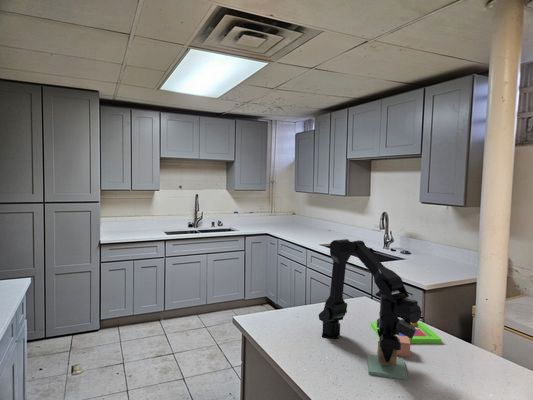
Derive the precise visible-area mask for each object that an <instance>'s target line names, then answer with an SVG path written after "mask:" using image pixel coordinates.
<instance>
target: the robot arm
mask: <svg viewBox="0 0 533 400" xmlns="http://www.w3.org/2000/svg"><path fill="white" fill-rule="evenodd" d="M352 253H354V255H355V256H356V257H357V259H359V261H360V262H361V263H362V264H363V265H364V266H365V268H366V269H367V271H368V272H370V273H371V276H373V280H374V284H375V286H376V287H377V289H378V291H377V292H376V293H375V294H374V295H375V296H376V297H378V298H380V303H379V304H380V305H379V312H378V316H379V318H377V319H376V323H377V328H379V329H377V331H378V335H379V336H378V335H377V336H378V341H379V345H380V347H381V350H382V353H383V355H384V358H385V361H386V362H389V361H390V358H391V355H392V352H393V350H401V343H400V339H399V338H398V337H397V336H395V335H399V333H401V334H403V335H405V336H407V337H408V338H410V339H412V338H413V336H414V334H415V332H416V329H417V328H416V326H414V325H413V324H411V323H417V322H419V321H420V319H421V317H422V309H421V307H420V305H418V304H419V302H418V300H415V299H410V295H409V293H408V291H407V289H406V287H405V285H404V283H403V280H402V277H401V276H399V274H397V273H396V272H395V271H393V270H391V269H390V268H388V267H386V266H385V265H384V264H383V263H382V262H381V261H380V260H379V259H378V258H377V257H376V256H375V254H374V253H373V252H372V250H370V249H369V247H368V246H366V243H365V242H364V241H363V240H360V239H359V240H351V241H350V239H347V238H345V239H335V240H332V241H331V242H330V244H329V255H330V257H331V259H332V270H331V271H332V272H331V281H330V283H331V284H330V292H329V297H327V299H326V301H325V303H324V307H323V310H322V311H320V313H318V320H319V321H321V322H322V333H321V337H322V338H328V339H337V340H338V339H339V337H340V335H341V323H340V321H343V320H344V317H345V316H346V314H347V313H348V309H347V307H348V302H345V299H344V288H345V286H344V285H345V280H346V279H345V278H346V268H347V262H348V261H349V259H350V258H351V255H352Z"/></svg>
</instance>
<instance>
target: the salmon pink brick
mask: <svg viewBox="0 0 533 400" xmlns="http://www.w3.org/2000/svg"><path fill="white" fill-rule="evenodd" d="M395 336H397V335H395ZM397 337H398V338H399V339H400V343H401V350H397V356H402V357H411V343H410V341H409V338H408V337H405V336H397Z"/></svg>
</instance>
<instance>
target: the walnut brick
mask: <svg viewBox="0 0 533 400" xmlns="http://www.w3.org/2000/svg"><path fill="white" fill-rule="evenodd" d="M377 355H378V363H380V364H387V365H394V366H396V362H397V358H398V355H397V350H393V352H392V355H391V358H390V361H389V362H386V361H385V358H384V355H383V353H382V350H381V347H380V345H379V340H378V341H377Z"/></svg>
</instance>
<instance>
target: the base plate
mask: <svg viewBox="0 0 533 400" xmlns="http://www.w3.org/2000/svg"><path fill="white" fill-rule="evenodd" d="M366 355H367V370H368V371H367V372H368V375H371V376H379V377H383V378H391V379H398V380H399V379H400V380H405V381H408V380H409V377H408V376H409V375H408V373H407V368H406V365H405V361H404V358H401V357H397V362H396V366H394V365H387V364H380V363H378V354H371V353H367V354H366Z"/></svg>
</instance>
